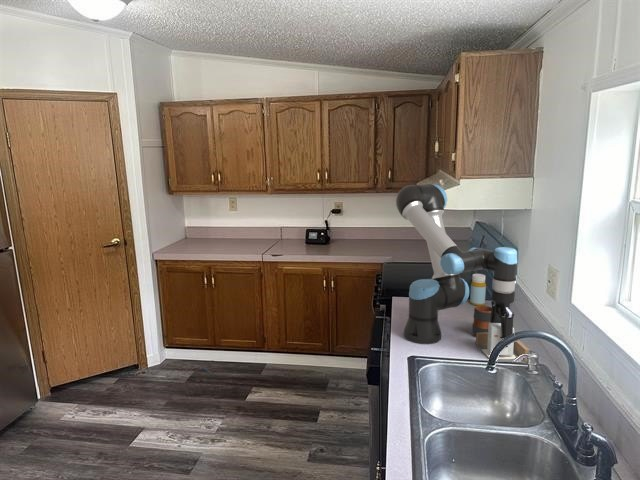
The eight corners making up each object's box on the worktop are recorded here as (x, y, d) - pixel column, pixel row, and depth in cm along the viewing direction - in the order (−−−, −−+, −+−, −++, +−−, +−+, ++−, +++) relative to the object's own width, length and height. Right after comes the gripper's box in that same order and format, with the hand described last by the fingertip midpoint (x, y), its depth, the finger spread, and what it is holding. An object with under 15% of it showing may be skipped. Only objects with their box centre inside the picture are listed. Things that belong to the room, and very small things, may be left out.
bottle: (483, 307, 212) (484, 277, 209) (468, 304, 215) (470, 275, 212) (486, 303, 217) (487, 274, 215) (471, 300, 221) (473, 272, 218)
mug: (494, 330, 182) (496, 304, 180) (493, 340, 172) (495, 313, 170) (473, 327, 186) (474, 301, 184) (471, 337, 175) (472, 310, 173)
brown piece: (492, 363, 153) (493, 350, 152) (475, 344, 168) (476, 332, 167) (528, 362, 153) (529, 349, 152) (508, 343, 168) (509, 332, 168)
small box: (509, 349, 160) (511, 323, 158) (513, 356, 155) (515, 328, 153) (486, 348, 162) (488, 322, 160) (490, 354, 156) (491, 327, 154)
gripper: (526, 298, 145) (521, 361, 149) (502, 282, 164) (498, 339, 168) (504, 298, 145) (500, 362, 149) (482, 283, 163) (479, 339, 168)
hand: (499, 350), depth 158 cm, fingers closed on small box, 6 cm apart
